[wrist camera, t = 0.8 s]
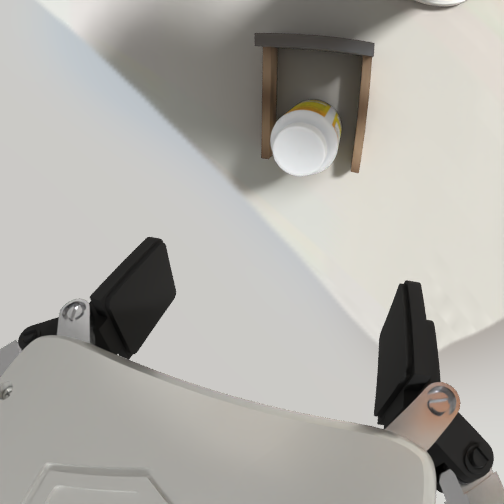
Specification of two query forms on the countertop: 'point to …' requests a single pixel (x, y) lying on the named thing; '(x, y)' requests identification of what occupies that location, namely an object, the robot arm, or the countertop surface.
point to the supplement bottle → (306, 138)
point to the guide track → (311, 42)
